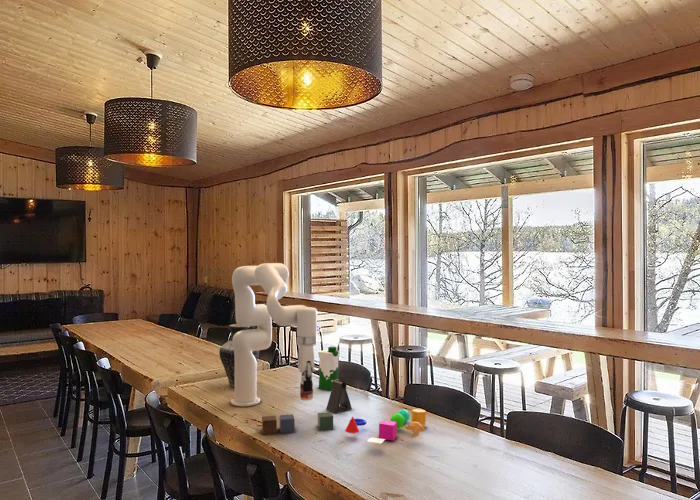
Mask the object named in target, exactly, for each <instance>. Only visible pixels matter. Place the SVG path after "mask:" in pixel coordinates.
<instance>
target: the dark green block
mask: <svg viewBox="0 0 700 500" xmlns="http://www.w3.org/2000/svg"><path fill="white" fill-rule="evenodd" d="M317 427H318V429H319V431H330V430H334V415H333V412H331V411H326V412H325V411H324V412H317Z"/></svg>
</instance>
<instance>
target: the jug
mask: <svg viewBox="0 0 700 500" xmlns="http://www.w3.org/2000/svg"><path fill="white" fill-rule="evenodd" d="M229 329H230V339H229V340H228V341H226V342H225V343H224V344H222V345H221V346H220V347H219V352H218V353H219V354H218V355H219V359H220V361H221V364H222V366H223V368H224V371H225V374H226V377H227V379H228V383H229V386H230V387H233V388H235V356H234V348H233V341H232V340H233V336H234V335H235V334H236V333H237V332H239V331H242V330H250V327H240V326H238V325H237V323H233V324H229ZM260 351H261V350H258V351H252V354H253V355H254V357H255V358H256V361H257V362H258V360H259V355H260Z"/></svg>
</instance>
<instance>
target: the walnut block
mask: <svg viewBox="0 0 700 500" xmlns="http://www.w3.org/2000/svg"><path fill="white" fill-rule="evenodd" d="M277 427H278V420H277V416H276V415H264V416H261V433H262V435H263V436H265V435H275V434H278V433H277V432H278V431H277V429H278V428H277Z"/></svg>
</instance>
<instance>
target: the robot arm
mask: <svg viewBox="0 0 700 500" xmlns="http://www.w3.org/2000/svg"><path fill="white" fill-rule="evenodd" d="M289 276H290V273H289V268H288V266H286V265H285V264H284V263H282V262H265V263H260V264H258V265H243V266H238V267H237V268H235V269H234V270H233V273H232V276H231V284H232V289H233V293H234V310H235V311H234V312H235V313H234V314H235V324H237V325H238V326H240V327H249V330H242V331H239V332H237V333H236V334H235V335H234V336H233V340H232V341H233V348H234V356H235V387H233V389H234V394H233V395H234V396H233V398H232V399H230V404H231V405H232V406H234V407H242V408H243V407H252V406H256V405H259V404H260V403H261V398H260V397H259V396H258V394H257V393H258V391H257V387H258V360H257V361H256V358H255V357H254V355H253V354H252V351H258V350H260V351H264V350H267V349H269V348H270V347H271V345H272V341H273V325H272V324H273V323H272V321H273V322H274V324H276V325H277V326H280V327H289V326H296V345H297V346H298V355H297V357H298V359H297V362H298V363H297V369H298V370H299V372H300V373H301V377H302V376H304V380H303V391H304V392H307V391H312V381H313V373H314V371H315V346H317V345H318V309H317V308H316V307H311V306H306V305H304V304H295V305H293V304H291V305H281V303H280V302H279V300H281V299H282V298H283V297H284V296H285V295H286V294H287V292H288V284H287V283H286V282H287V281H288V279H289ZM251 286H261V288H262V289H263V291H264V292H265V294H266V295H267V297H266V304H263V303H257V304H256V296H255V295H256V294H255V292H254V290H253V289H252V287H251ZM250 327H256V328H251V329H250ZM301 381H302V380H301V379H300V382H301Z"/></svg>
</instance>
